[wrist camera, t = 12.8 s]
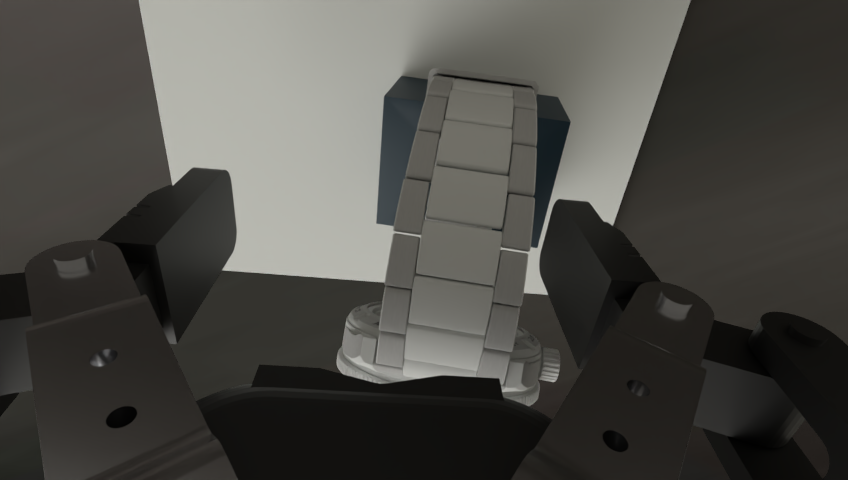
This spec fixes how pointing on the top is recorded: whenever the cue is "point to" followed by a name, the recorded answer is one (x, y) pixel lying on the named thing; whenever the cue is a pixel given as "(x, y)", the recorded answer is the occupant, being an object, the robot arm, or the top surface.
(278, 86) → the mat
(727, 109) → the top surface
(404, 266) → the watch
